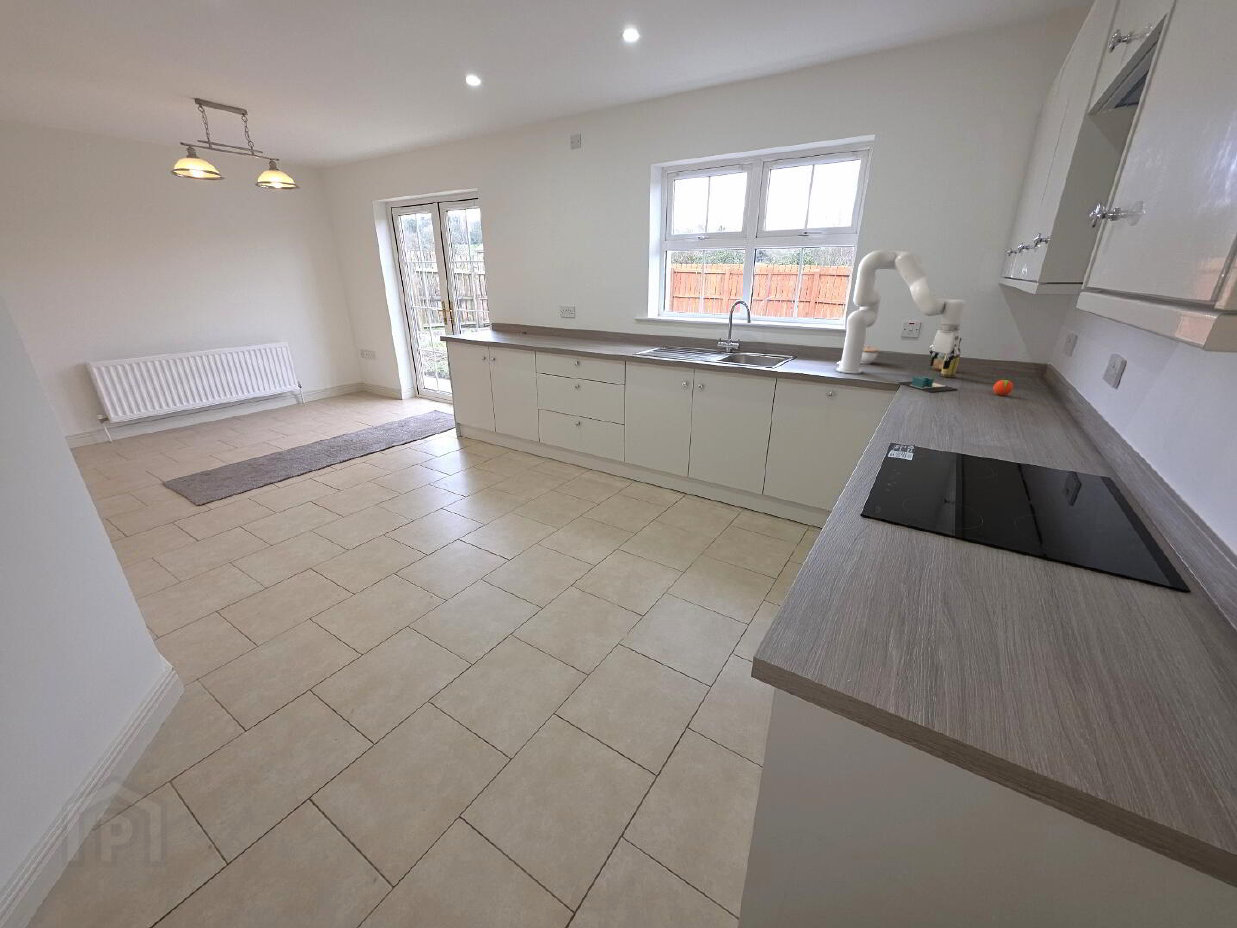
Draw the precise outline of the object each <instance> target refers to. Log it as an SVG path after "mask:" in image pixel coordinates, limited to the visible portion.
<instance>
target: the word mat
mask: <svg viewBox="0 0 1237 928" xmlns="http://www.w3.org/2000/svg"><path fill="white" fill-rule="evenodd" d="M898 384H899V385H903V386H906V387H910V388H913V389H916V390H920V391H924V392H927V393H932V394H933V393H942V392H951V391H958V388H955V387H951V386H948V385H943V384H940V383H936V382H933V384H932V387H926V386H925V387H924V388H920V387H916V386H913V385H911V384H912V380H909V381H900V382H898Z"/></svg>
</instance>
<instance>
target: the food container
mask: <svg viewBox="0 0 1237 928" xmlns="http://www.w3.org/2000/svg"><path fill="white" fill-rule="evenodd" d="M945 355H946V354H943V353H939V355H938V356H937V357H938V359H942V360H944V359H945ZM931 370H933V371H936V372H942V369H938V368H934V367H932V366H931Z"/></svg>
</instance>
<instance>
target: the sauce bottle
mask: <svg viewBox="0 0 1237 928" xmlns="http://www.w3.org/2000/svg"><path fill="white" fill-rule="evenodd" d="M962 339H963V338H962V337H961V336H960V341H959V347H958V351H959V353H960V354H959V355H958V356H957V357H955V358H954V359H953V360H951V363H950V367H949V369H944V370H943V369H942V371H940V373H941V374H940V376H941V377H943V378H950V379H951V378H955V377H956V373H957V369H958V366H959V362H960V356H961V348H960V345H961V341H962ZM949 357H950V356H949ZM944 360H946V355H945V359H944Z"/></svg>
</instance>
